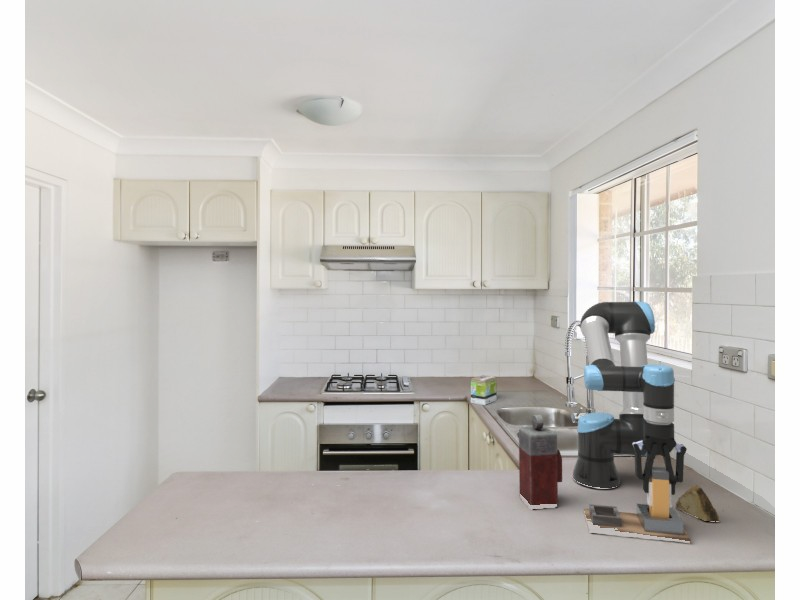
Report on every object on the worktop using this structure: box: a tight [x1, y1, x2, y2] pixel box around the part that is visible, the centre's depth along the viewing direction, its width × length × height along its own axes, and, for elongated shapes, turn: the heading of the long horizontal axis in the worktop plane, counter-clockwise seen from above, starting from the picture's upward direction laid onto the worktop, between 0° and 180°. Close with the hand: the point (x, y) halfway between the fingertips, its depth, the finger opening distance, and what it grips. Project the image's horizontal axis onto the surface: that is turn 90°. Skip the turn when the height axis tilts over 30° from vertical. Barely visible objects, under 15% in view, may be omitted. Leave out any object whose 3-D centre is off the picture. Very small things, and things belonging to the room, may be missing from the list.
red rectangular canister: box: [518, 414, 563, 505], centre depth 151 cm, size 9×11×28 cm
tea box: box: [470, 374, 498, 406], centre depth 283 cm, size 15×10×15 cm
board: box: [583, 503, 691, 542], centre depth 134 cm, size 12×25×4 cm, turn 76°
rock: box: [675, 485, 721, 522], centre depth 141 cm, size 11×9×10 cm
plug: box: [649, 466, 669, 518], centre depth 132 cm, size 4×4×14 cm
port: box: [636, 503, 684, 536], centre depth 133 cm, size 9×9×4 cm
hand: (658, 504), depth 133 cm, fingers closed on plug, 4 cm apart
